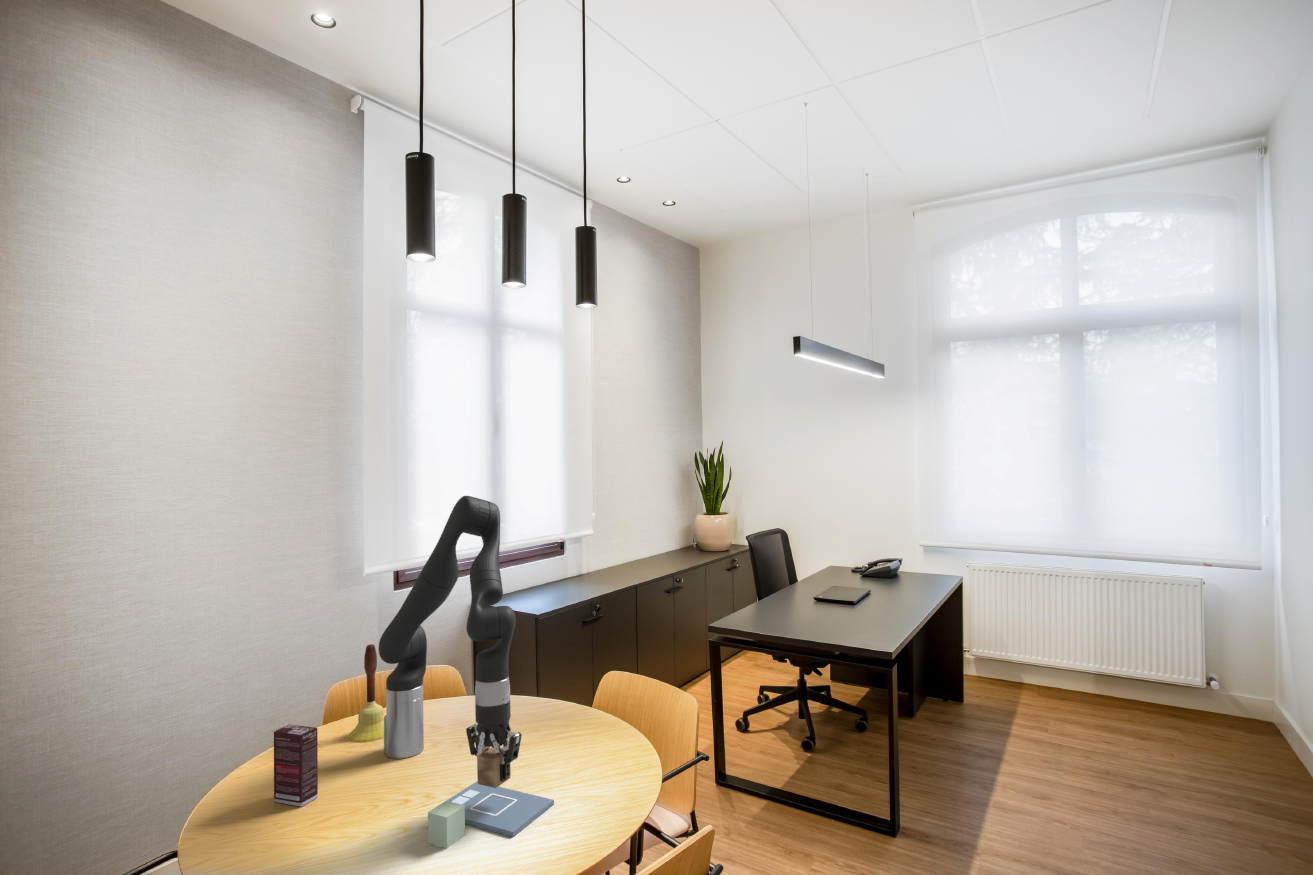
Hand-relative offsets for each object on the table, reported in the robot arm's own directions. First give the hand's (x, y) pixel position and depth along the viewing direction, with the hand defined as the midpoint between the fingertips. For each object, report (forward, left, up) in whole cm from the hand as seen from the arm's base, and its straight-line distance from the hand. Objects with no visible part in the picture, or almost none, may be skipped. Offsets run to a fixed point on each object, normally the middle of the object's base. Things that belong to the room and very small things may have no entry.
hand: (494, 777), depth 144 cm
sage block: (-1, -13, -7) cm, 15 cm away
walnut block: (0, 0, -1) cm, 1 cm away
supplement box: (-45, -15, -7) cm, 48 cm away
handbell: (-61, +19, -7) cm, 64 cm away
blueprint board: (0, 0, -7) cm, 7 cm away
